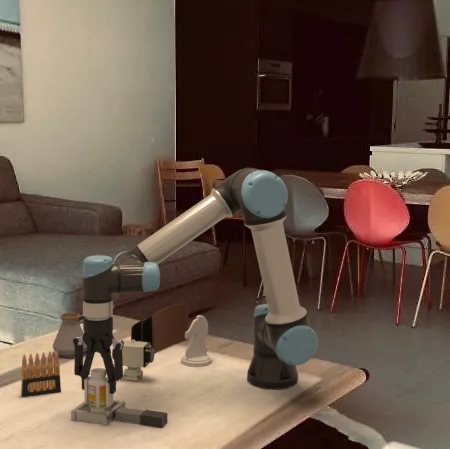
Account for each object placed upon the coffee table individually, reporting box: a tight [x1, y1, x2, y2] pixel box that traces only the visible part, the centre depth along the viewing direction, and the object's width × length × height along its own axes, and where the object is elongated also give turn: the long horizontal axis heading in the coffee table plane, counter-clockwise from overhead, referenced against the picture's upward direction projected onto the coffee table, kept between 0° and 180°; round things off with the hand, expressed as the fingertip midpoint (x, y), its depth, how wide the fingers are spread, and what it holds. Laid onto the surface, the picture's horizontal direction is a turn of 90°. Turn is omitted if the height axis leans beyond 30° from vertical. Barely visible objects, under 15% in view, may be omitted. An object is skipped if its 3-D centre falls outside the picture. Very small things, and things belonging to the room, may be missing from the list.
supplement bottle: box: [88, 367, 108, 411], centre depth 195 cm, size 5×5×10 cm
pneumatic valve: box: [111, 340, 156, 382], centre depth 222 cm, size 6×12×12 cm, turn 78°
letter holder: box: [130, 302, 189, 354], centre depth 257 cm, size 10×20×14 cm, turn 147°
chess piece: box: [180, 314, 213, 368], centre depth 238 cm, size 10×10×15 cm
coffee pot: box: [52, 304, 116, 358], centre depth 247 cm, size 21×12×15 cm, turn 124°
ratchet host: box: [70, 399, 168, 429], centre depth 194 cm, size 24×11×3 cm, turn 72°
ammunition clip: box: [20, 351, 62, 398], centre depth 209 cm, size 11×2×12 cm, turn 114°
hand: (99, 403), depth 196 cm, fingers closed on supplement bottle, 5 cm apart
